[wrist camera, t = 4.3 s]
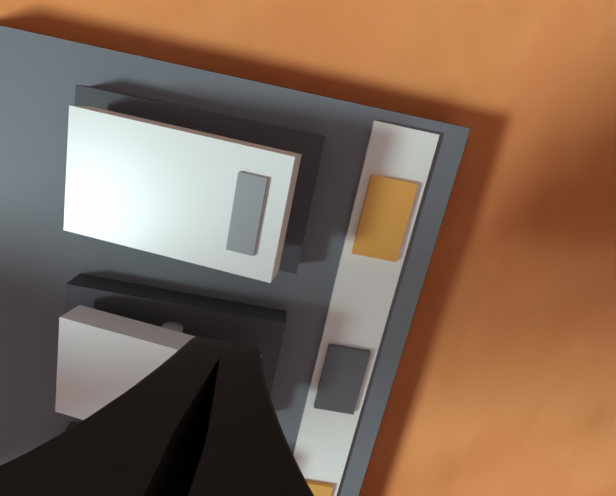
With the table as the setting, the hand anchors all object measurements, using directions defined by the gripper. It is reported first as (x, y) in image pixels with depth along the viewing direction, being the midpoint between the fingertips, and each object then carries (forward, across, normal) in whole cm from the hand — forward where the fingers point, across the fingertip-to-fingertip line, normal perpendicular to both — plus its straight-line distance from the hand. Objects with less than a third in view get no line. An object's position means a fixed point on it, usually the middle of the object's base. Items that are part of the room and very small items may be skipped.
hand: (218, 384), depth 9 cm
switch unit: (+10, +2, +4) cm, 11 cm away
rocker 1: (+6, +2, -2) cm, 7 cm away
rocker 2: (+6, +2, +4) cm, 7 cm away
